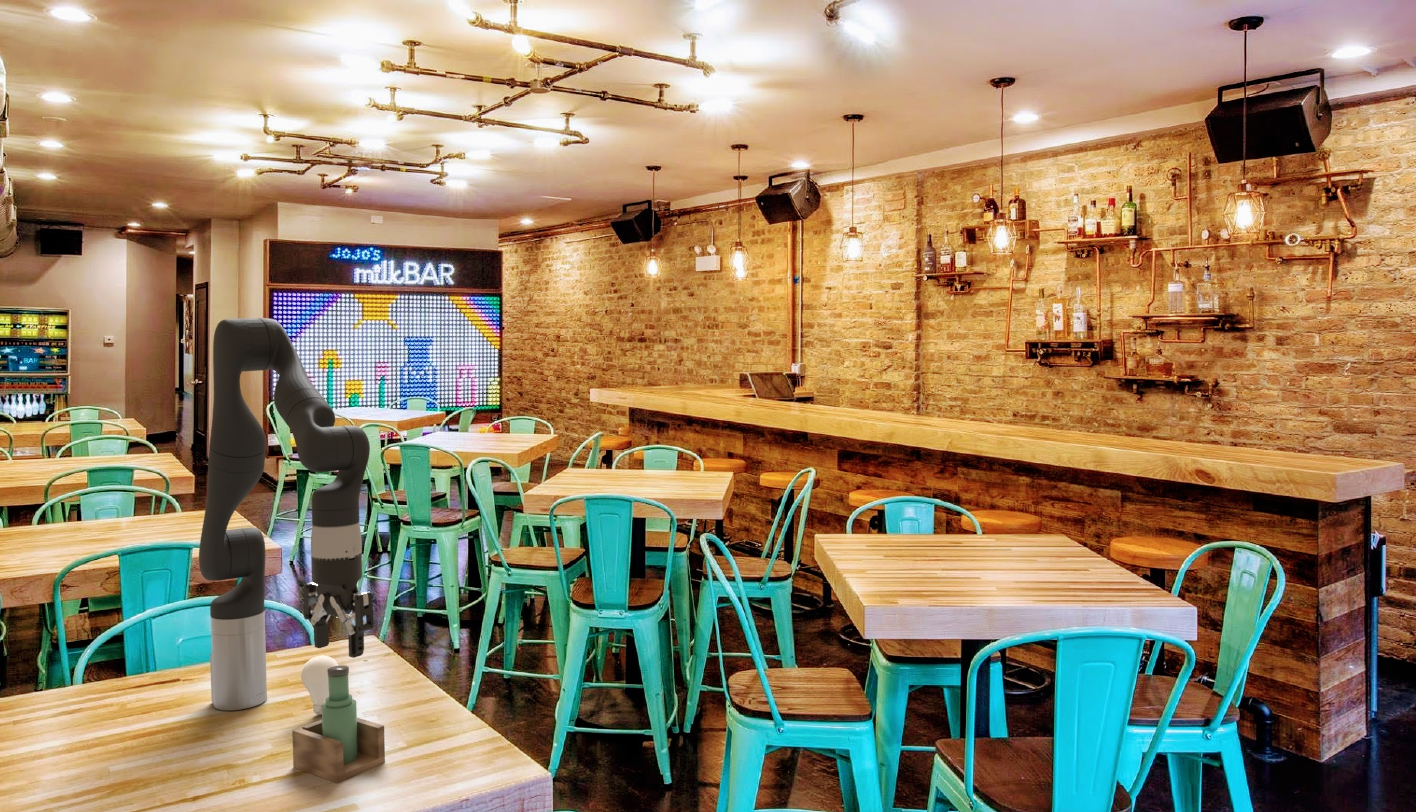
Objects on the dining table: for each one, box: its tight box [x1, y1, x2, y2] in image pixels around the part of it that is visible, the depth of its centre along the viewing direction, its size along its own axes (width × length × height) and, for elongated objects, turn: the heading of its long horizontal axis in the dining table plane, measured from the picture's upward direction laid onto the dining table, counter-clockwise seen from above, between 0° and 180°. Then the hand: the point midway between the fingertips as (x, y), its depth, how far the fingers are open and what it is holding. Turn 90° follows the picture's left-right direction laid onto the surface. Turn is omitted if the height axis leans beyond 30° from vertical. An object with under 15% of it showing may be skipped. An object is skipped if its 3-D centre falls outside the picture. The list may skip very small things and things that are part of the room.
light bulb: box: [300, 655, 340, 717], centre depth 175 cm, size 7×7×11 cm
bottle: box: [321, 664, 358, 765], centre depth 154 cm, size 5×5×15 cm
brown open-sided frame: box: [291, 717, 386, 784], centre depth 154 cm, size 11×9×6 cm
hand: (338, 651), depth 153 cm, fingers open, 8 cm apart
